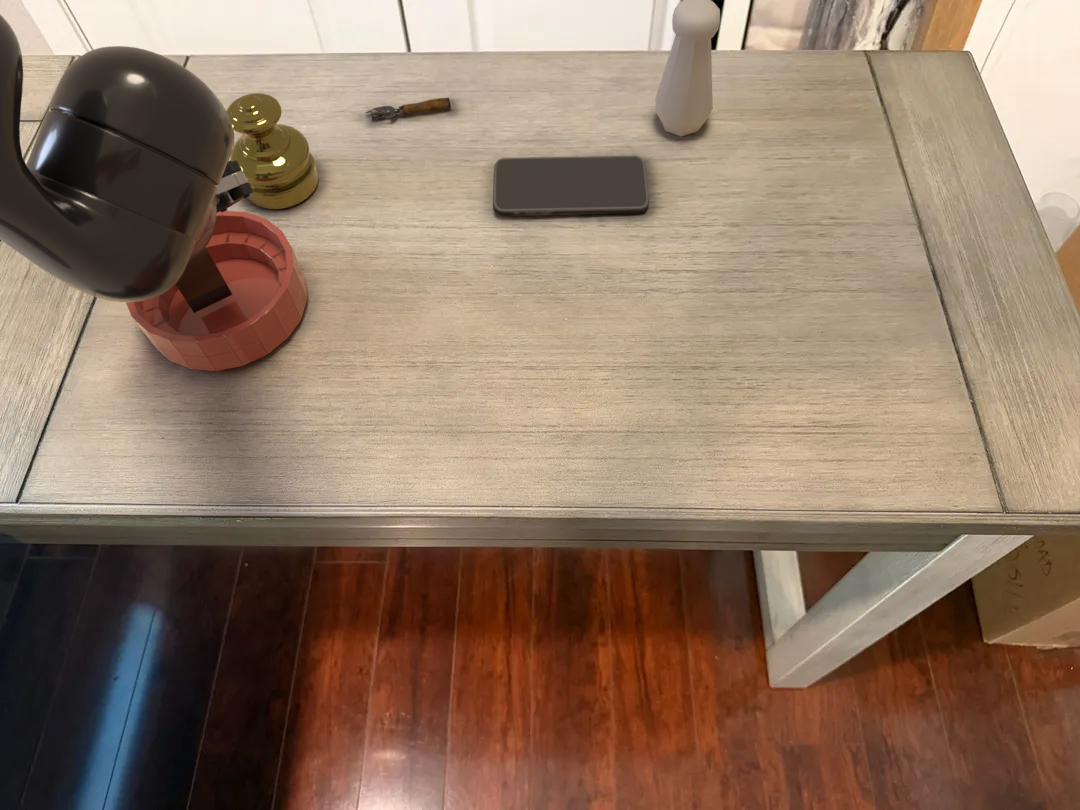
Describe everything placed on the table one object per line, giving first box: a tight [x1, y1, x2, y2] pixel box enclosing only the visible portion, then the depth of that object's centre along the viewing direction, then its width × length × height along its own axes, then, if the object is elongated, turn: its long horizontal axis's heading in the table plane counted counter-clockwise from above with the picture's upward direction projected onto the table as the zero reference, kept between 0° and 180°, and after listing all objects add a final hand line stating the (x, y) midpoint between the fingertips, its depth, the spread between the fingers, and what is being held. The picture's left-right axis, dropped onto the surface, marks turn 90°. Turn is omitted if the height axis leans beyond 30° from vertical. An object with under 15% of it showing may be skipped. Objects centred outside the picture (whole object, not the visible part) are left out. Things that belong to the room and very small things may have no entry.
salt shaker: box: [654, 0, 721, 137], centre depth 78 cm, size 6×6×13 cm
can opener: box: [365, 97, 452, 121], centre depth 85 cm, size 9×2×1 cm, turn 94°
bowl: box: [125, 210, 308, 372], centre depth 72 cm, size 14×14×5 cm
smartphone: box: [492, 155, 650, 217], centre depth 79 cm, size 7×1×15 cm
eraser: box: [176, 247, 232, 313], centre depth 66 cm, size 5×4×10 cm
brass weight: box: [225, 92, 319, 210], centre depth 77 cm, size 7×7×10 cm
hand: (165, 222), depth 66 cm, fingers closed on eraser, 3 cm apart
